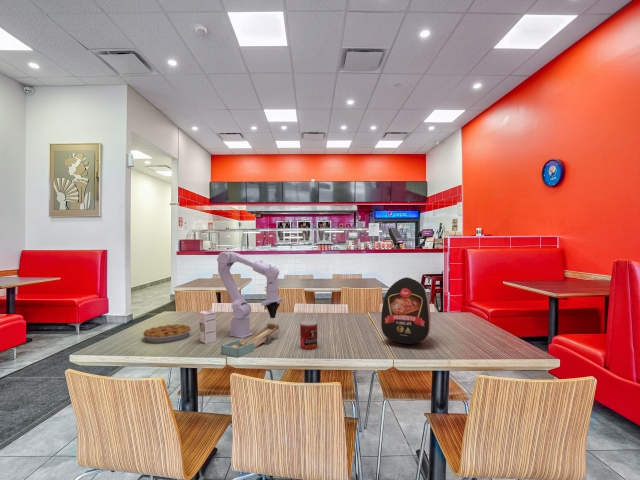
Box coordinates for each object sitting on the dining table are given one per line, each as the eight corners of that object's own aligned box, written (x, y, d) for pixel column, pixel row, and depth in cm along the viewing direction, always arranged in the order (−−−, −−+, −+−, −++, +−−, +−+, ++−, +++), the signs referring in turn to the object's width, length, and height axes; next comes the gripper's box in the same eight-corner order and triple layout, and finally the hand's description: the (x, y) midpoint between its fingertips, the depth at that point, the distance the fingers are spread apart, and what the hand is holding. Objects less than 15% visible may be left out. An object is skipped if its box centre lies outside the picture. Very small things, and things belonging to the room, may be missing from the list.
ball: (235, 350, 139) (229, 354, 136) (233, 342, 138) (227, 347, 136) (240, 351, 138) (235, 356, 135) (239, 344, 137) (233, 348, 134)
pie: (149, 347, 147) (149, 336, 147) (138, 337, 163) (138, 327, 163) (197, 338, 161) (197, 328, 161) (182, 329, 178) (182, 320, 178)
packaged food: (379, 346, 144) (378, 279, 145) (385, 334, 163) (384, 275, 163) (430, 351, 137) (429, 280, 137) (431, 338, 155) (430, 276, 156)
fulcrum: (252, 342, 153) (252, 334, 153) (258, 339, 156) (258, 332, 156) (267, 344, 148) (267, 337, 148) (272, 342, 151) (272, 335, 151)
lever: (232, 343, 150) (231, 337, 150) (257, 326, 165) (256, 321, 165) (254, 347, 143) (253, 342, 143) (279, 329, 158) (278, 324, 158)
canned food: (304, 350, 139) (304, 325, 139) (297, 345, 146) (297, 321, 146) (320, 348, 143) (320, 323, 143) (312, 343, 150) (312, 319, 150)
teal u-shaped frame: (221, 353, 137) (221, 345, 137) (238, 347, 145) (238, 339, 145) (237, 357, 132) (237, 348, 132) (254, 350, 140) (254, 342, 140)
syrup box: (216, 341, 154) (216, 311, 155) (204, 344, 150) (204, 313, 150) (210, 339, 158) (210, 309, 158) (199, 341, 154) (199, 311, 154)
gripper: (269, 293, 154) (269, 321, 153) (287, 289, 166) (287, 315, 166) (258, 292, 157) (258, 320, 157) (276, 288, 170) (276, 314, 170)
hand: (272, 317), depth 162 cm, fingers closed
